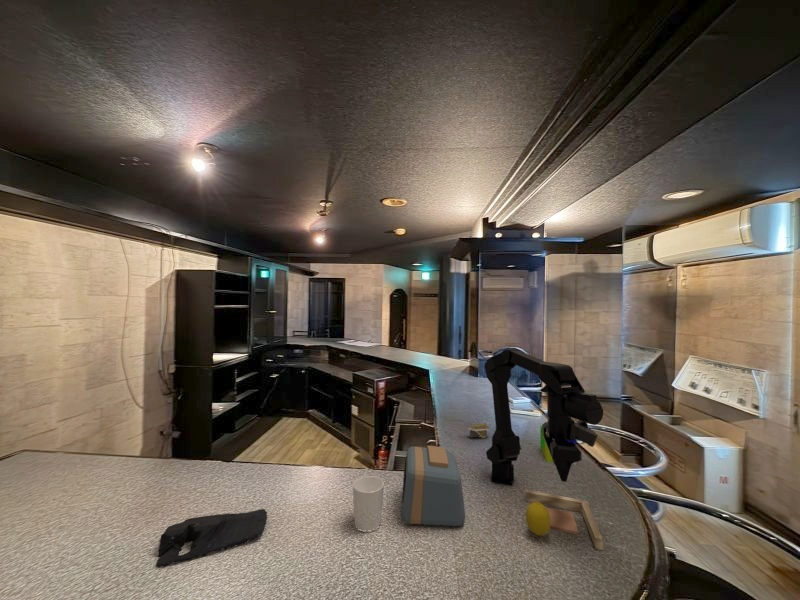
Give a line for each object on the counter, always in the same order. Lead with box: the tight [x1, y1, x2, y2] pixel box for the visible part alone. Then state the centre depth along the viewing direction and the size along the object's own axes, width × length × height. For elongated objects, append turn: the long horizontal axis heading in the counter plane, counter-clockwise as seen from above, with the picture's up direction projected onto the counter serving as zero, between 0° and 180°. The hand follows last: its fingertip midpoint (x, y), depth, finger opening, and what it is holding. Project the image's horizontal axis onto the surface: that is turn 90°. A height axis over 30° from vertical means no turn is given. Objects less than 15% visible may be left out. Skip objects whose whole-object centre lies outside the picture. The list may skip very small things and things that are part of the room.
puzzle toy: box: [539, 425, 577, 466], centre depth 120 cm, size 10×10×10 cm
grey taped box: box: [401, 445, 466, 527], centre depth 86 cm, size 16×16×16 cm
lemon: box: [525, 502, 551, 537], centre depth 76 cm, size 6×6×8 cm
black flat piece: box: [155, 508, 268, 568], centre depth 74 cm, size 15×22×5 cm
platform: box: [466, 422, 490, 439], centre depth 137 cm, size 12×18×7 cm, turn 102°
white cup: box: [352, 475, 385, 531], centre depth 79 cm, size 8×8×10 cm
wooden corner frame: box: [525, 489, 604, 551], centre depth 82 cm, size 16×16×2 cm
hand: (559, 472), depth 82 cm, fingers open, 9 cm apart
